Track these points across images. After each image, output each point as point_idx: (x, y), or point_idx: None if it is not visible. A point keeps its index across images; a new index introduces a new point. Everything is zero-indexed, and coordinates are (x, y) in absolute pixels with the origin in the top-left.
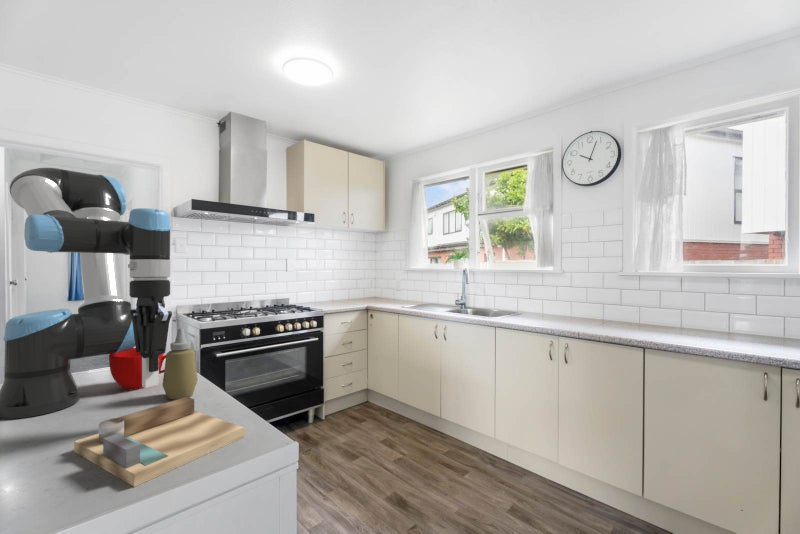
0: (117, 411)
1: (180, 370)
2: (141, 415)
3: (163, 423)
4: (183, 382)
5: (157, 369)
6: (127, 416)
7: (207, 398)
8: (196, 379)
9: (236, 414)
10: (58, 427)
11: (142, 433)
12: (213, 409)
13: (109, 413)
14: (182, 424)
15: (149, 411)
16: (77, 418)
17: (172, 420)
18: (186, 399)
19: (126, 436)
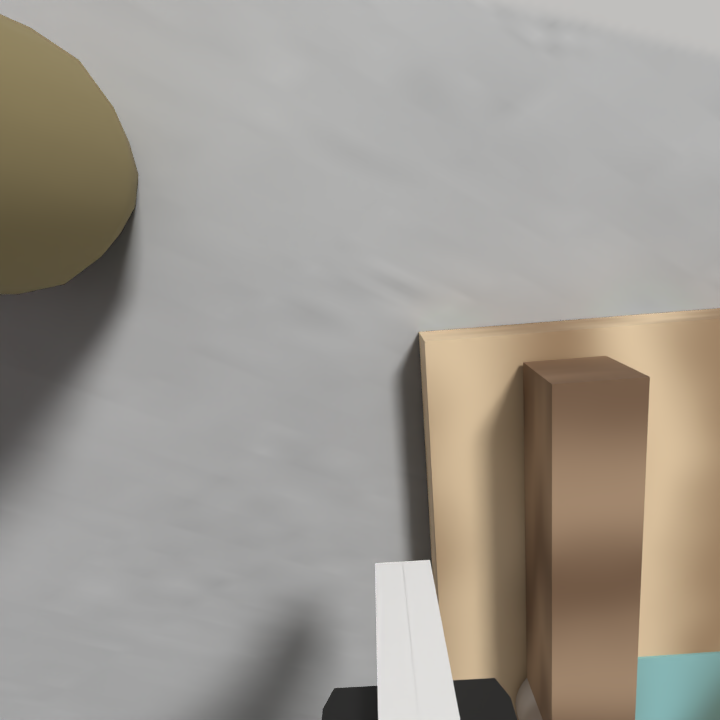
0: (68, 507)
1: (29, 207)
2: (632, 667)
3: None
4: (109, 195)
5: (502, 696)
6: (580, 709)
7: (252, 77)
8: (66, 56)
9: (689, 127)
10: (100, 711)
11: None
12: (487, 169)
13: (71, 539)
14: (692, 464)
15: (611, 624)
16: (32, 642)
17: None
18: (603, 409)
19: None
